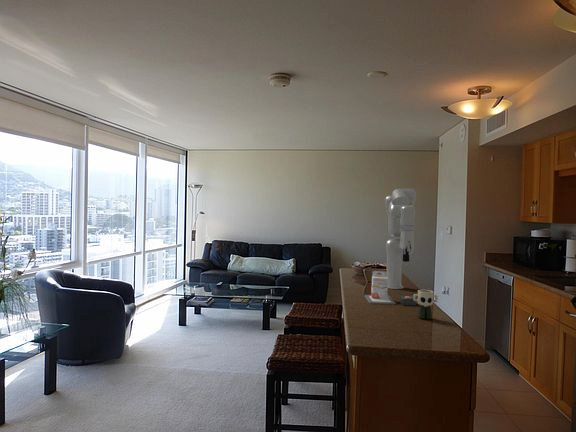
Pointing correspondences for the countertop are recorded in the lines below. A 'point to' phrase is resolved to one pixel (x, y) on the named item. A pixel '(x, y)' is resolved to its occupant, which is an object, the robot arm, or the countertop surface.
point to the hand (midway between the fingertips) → (405, 261)
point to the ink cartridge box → (379, 285)
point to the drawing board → (379, 300)
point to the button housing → (407, 301)
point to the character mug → (425, 303)
